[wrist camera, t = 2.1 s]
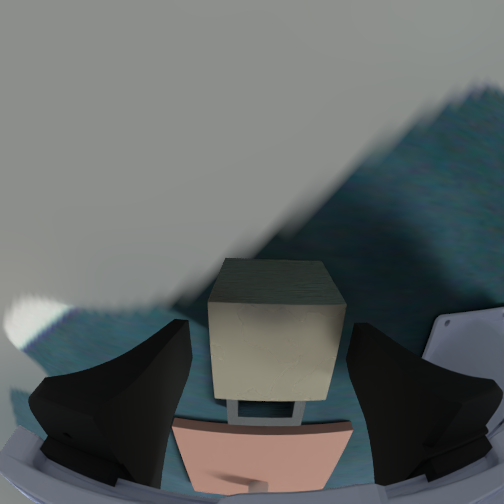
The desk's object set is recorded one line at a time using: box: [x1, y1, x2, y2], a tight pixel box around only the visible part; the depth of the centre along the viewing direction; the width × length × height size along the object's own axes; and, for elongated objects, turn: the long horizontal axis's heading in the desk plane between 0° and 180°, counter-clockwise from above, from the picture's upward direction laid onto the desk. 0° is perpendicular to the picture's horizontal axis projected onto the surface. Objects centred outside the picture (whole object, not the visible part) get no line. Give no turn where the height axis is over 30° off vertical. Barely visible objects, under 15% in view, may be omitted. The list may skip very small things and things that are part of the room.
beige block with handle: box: [208, 258, 347, 426], centre depth 14 cm, size 12×5×5 cm, turn 179°
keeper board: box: [172, 418, 353, 495], centre depth 18 cm, size 14×14×6 cm
